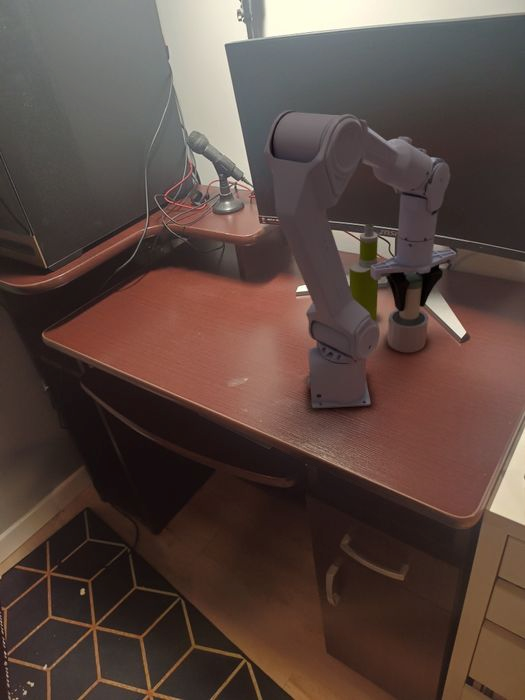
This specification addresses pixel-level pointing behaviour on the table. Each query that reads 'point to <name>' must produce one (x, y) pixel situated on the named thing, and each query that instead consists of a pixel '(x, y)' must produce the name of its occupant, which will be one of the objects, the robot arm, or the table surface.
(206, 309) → the table surface
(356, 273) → the vape
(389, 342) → the light grey round cup
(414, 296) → the cylinder
